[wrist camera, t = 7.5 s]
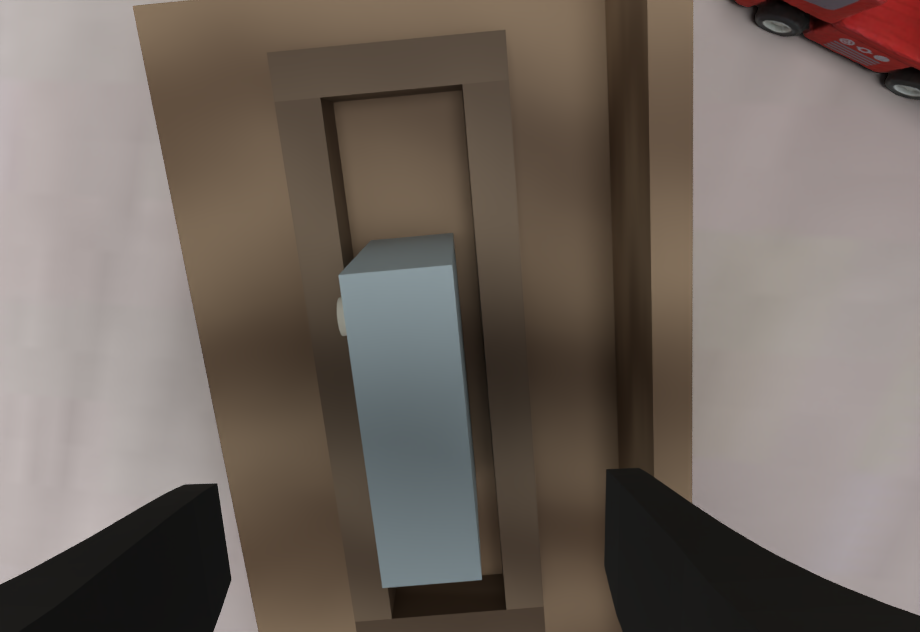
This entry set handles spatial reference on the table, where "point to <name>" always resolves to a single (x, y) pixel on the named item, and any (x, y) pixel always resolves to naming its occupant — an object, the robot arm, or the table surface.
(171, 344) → the table surface
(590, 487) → the track base
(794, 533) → the table surface
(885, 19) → the toy fire truck
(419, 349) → the grey-blue rectangular block
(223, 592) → the robot arm
